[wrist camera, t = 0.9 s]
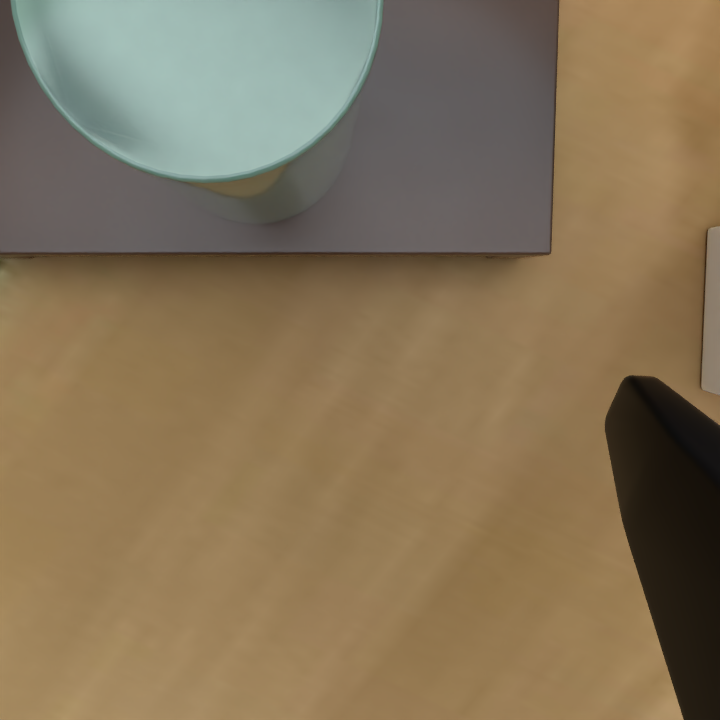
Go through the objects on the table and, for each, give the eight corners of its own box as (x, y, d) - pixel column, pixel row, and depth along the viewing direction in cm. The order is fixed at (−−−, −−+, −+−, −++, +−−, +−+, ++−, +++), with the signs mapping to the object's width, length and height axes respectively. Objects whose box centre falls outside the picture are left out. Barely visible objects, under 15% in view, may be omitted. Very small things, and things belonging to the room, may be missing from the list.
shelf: (519, 258, 24) (577, 252, 19) (-1, 258, 23) (-99, 252, 17) (527, -72, 23) (593, -182, 17) (-24, -89, 21) (-137, -210, 16)
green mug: (354, 226, 20) (384, 183, 11) (155, 225, 20) (19, 181, 11) (354, -56, 19) (384, -349, 10) (143, -62, 19) (-15, -370, 10)
